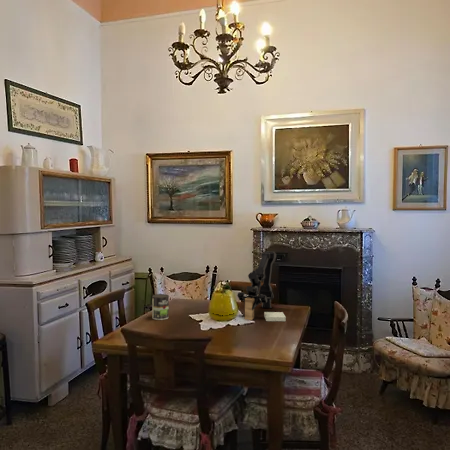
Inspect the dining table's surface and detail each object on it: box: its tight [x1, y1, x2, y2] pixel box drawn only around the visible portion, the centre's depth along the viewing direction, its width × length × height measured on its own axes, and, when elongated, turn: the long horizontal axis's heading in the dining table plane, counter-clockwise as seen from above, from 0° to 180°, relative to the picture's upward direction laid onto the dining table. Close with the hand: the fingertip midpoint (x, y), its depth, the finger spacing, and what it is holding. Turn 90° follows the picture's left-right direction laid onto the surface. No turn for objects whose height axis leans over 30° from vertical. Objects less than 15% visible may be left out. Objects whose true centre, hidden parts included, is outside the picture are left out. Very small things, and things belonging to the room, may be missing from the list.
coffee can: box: [151, 293, 170, 321], centre depth 270 cm, size 10×10×14 cm
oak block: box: [244, 297, 255, 321], centre depth 270 cm, size 4×4×13 cm
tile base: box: [263, 311, 287, 322], centre depth 272 cm, size 12×12×2 cm
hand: (248, 308), depth 269 cm, fingers closed on oak block, 4 cm apart
